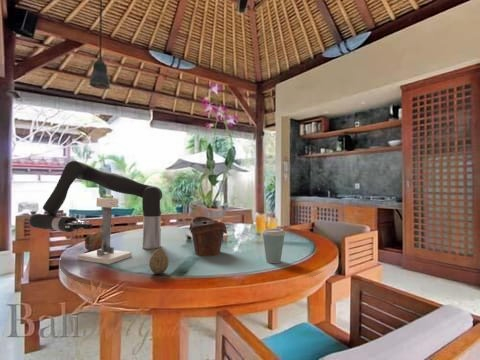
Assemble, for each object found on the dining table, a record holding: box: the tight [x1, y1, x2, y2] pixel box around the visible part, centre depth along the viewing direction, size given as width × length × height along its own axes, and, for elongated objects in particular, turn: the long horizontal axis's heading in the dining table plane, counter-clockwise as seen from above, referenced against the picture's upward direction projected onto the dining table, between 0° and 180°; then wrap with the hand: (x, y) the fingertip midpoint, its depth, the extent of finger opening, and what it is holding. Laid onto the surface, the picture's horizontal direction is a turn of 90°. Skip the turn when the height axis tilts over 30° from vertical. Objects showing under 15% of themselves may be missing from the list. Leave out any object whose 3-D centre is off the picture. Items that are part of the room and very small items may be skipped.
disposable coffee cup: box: [261, 227, 286, 264], centre depth 130 cm, size 11×11×15 cm
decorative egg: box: [149, 247, 169, 275], centre depth 110 cm, size 7×7×10 cm
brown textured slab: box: [84, 231, 102, 251], centre depth 148 cm, size 15×3×8 cm, turn 179°
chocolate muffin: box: [188, 216, 228, 257], centre depth 144 cm, size 18×20×18 cm
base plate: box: [77, 246, 132, 265], centre depth 131 cm, size 18×14×4 cm
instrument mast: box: [95, 194, 119, 253], centre depth 131 cm, size 8×5×26 cm, turn 70°
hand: (90, 226), depth 134 cm, fingers closed
